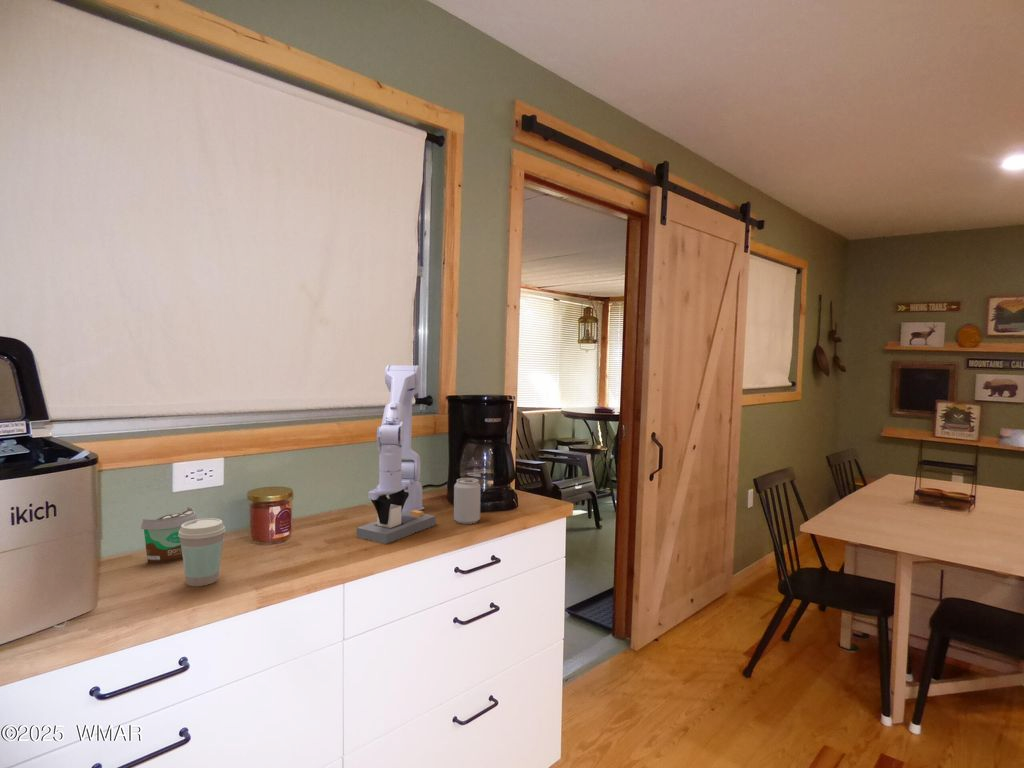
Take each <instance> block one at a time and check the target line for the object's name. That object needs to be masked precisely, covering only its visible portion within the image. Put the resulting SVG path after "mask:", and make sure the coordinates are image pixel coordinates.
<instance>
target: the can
mask: <svg viewBox="0 0 1024 768" xmlns="http://www.w3.org/2000/svg"><path fill="white" fill-rule="evenodd" d="M481 487H482V486H481V484H480V482H479V479H477V478H475V477H474V478H473V477H461V478H457V479H456V482H455V484H454V485H453V520H455V521H456V522H457V524H460V525H461V524H462V525H471V524H472V523H473V524H476V523H477V522H478V521H479V520H480V519H481V489H482V488H481Z"/></svg>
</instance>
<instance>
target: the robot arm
mask: <svg viewBox="0 0 1024 768" xmlns="http://www.w3.org/2000/svg"><path fill="white" fill-rule="evenodd" d="M421 373H422V372H421V367H420V366H419V365H418V364H417V365H400V364H399V365H397V364H396V365H393V364H387V366H385V369H384V382H385V385H386V387H387V389H388V391H389V393H390V396H389V398H390V399H389V403H387V404H386V405H385V406H384V410H383V415H382V419H381V420H382V421H381V426H377V431H376V443H377V444H376V445H377V454H379V457H378V458H379V459H378V460H379V461H378V463H379V466H378V477H379V478H378V485H376V488H374V489H372V490H370V491H368V495H367V496H368V497H367V498H368V500H370V501H371V502H372V505H373V506H374V508H375V510H376V513H377V514H378V517H379V521H380V524H384V525H386V524H388V519H389V509H390V505H391V504H393V505H399V506H401V513H403V512H406V511H413V510H418V511H423V510H425V507H424V506H423V486H422V484H421V482H420V481H419V480H420V478H421V472H422V471H421V469H422V468H421V457H420V455H419V453H418V452H416V451H415V450H414V449H413V448H412V430H413V429H412V427H413V425H412V424H413V423H412V421H413V419H412V418H413V401H414V400H413V399H414V396H415V395H417V394H419V393H420V390H421V377H422V376H421ZM387 496H388V497H387Z"/></svg>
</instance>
